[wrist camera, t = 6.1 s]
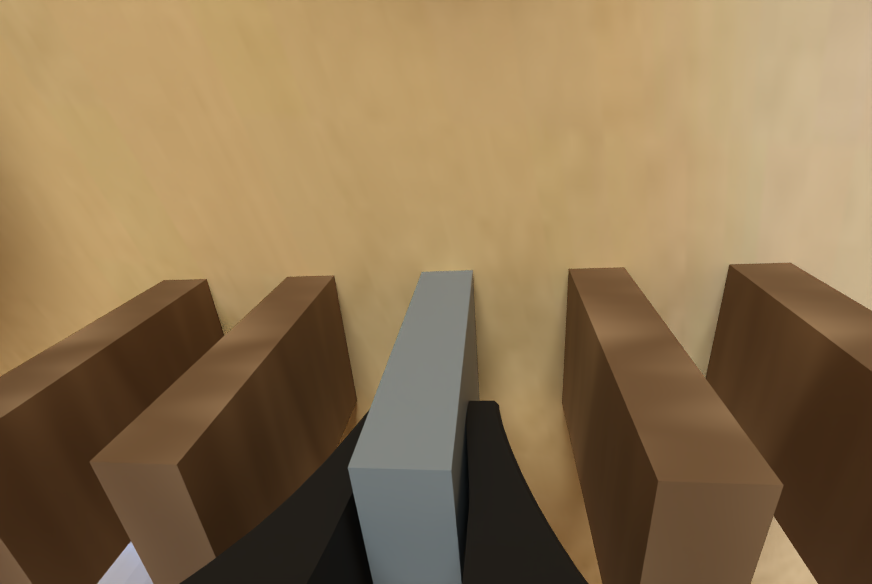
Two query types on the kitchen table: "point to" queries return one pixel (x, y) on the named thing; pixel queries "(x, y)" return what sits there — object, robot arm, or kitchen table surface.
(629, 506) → the walnut domino
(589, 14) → the kitchen table surface
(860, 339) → the walnut domino
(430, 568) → the grey domino
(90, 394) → the walnut domino
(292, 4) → the kitchen table surface
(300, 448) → the walnut domino
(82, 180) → the kitchen table surface
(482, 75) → the kitchen table surface
